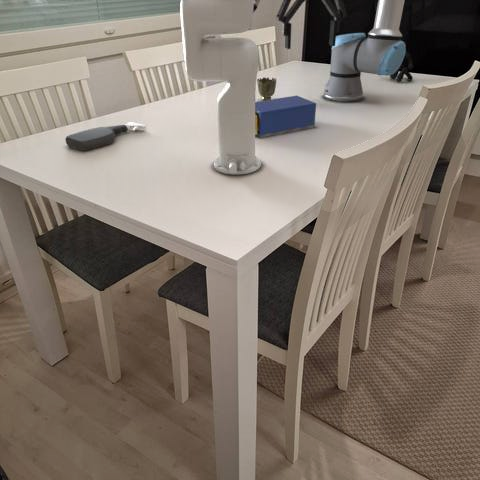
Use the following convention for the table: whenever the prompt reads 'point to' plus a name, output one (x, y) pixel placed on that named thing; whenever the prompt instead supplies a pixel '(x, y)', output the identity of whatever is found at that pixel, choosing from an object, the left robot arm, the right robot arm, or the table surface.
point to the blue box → (285, 115)
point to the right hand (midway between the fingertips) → (310, 46)
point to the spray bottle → (99, 136)
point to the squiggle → (404, 69)
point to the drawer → (256, 123)
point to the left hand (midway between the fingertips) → (232, 29)
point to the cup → (266, 87)
